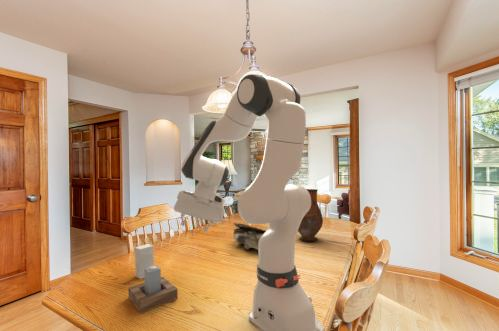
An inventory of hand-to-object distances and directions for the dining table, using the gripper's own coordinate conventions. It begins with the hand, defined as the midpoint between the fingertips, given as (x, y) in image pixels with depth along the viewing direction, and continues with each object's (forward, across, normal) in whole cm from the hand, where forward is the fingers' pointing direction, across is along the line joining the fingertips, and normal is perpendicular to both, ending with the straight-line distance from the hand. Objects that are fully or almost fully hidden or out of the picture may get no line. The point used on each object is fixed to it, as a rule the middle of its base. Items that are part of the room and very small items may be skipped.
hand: (193, 228), depth 99 cm
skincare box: (+22, -13, +14) cm, 29 cm away
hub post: (+25, -6, -5) cm, 26 cm away
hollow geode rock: (-2, +33, +34) cm, 47 cm away
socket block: (+26, -6, -4) cm, 27 cm away
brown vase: (-14, +64, +37) cm, 75 cm away
